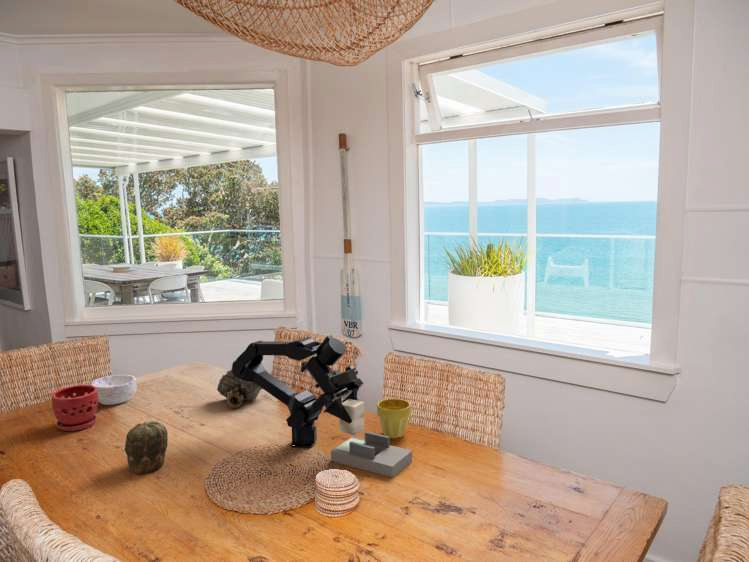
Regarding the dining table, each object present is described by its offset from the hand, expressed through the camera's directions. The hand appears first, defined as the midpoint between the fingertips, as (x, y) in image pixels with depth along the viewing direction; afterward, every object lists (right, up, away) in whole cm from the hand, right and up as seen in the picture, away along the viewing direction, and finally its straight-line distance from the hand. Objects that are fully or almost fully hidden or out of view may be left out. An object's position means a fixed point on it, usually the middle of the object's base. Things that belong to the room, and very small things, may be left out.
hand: (356, 419), depth 151 cm
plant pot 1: (-92, -9, +26) cm, 96 cm away
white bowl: (-91, -6, +50) cm, 104 cm away
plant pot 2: (+11, -9, +17) cm, 22 cm away
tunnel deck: (+4, -11, -1) cm, 12 cm away
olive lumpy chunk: (-57, -12, -3) cm, 58 cm away
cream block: (-1, -3, +1) cm, 4 cm away
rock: (-44, -6, +46) cm, 64 cm away
